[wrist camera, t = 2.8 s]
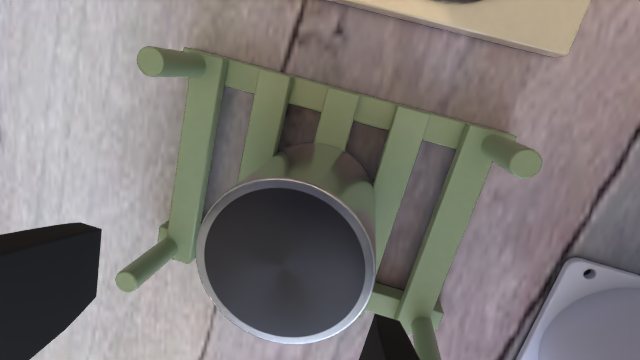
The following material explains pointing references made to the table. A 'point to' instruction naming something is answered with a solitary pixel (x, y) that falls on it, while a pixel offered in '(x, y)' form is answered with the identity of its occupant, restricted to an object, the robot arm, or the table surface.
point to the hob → (493, 19)
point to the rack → (334, 129)
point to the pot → (292, 246)
